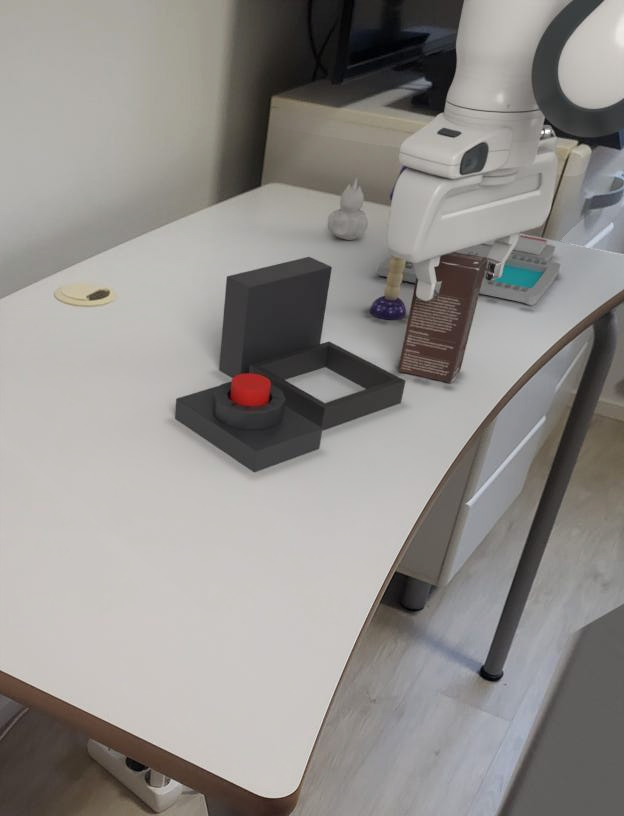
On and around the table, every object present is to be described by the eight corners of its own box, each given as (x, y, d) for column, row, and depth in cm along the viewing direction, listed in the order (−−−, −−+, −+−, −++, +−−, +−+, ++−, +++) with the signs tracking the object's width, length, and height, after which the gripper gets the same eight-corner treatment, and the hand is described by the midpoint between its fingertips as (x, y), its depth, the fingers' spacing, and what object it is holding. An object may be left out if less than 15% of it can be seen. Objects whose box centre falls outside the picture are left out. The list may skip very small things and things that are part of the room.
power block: (319, 449, 91) (325, 410, 88) (254, 473, 87) (258, 433, 84) (238, 399, 98) (241, 361, 95) (174, 419, 94) (176, 380, 92)
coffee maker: (401, 403, 98) (422, 306, 92) (320, 431, 93) (337, 331, 87) (296, 347, 108) (308, 256, 101) (218, 370, 103) (226, 276, 96)
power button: (276, 402, 90) (279, 384, 89) (246, 411, 88) (248, 394, 87) (251, 387, 92) (253, 370, 91) (222, 396, 90) (223, 378, 89)
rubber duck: (371, 237, 137) (382, 176, 132) (353, 250, 133) (363, 188, 128) (336, 229, 139) (345, 169, 134) (317, 241, 135) (325, 180, 130)
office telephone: (434, 211, 139) (577, 237, 132) (430, 230, 141) (571, 257, 134) (380, 255, 124) (539, 288, 116) (376, 276, 125) (532, 310, 118)
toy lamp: (365, 304, 118) (392, 156, 107) (403, 304, 118) (433, 157, 108) (374, 319, 115) (402, 168, 104) (412, 320, 115) (445, 169, 104)
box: (461, 369, 105) (490, 256, 97) (450, 385, 102) (479, 269, 94) (407, 356, 107) (431, 245, 99) (395, 372, 104) (418, 258, 96)
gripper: (532, 115, 96) (500, 258, 104) (387, 146, 87) (365, 300, 95) (588, 127, 92) (549, 275, 101) (441, 161, 83) (413, 320, 91)
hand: (458, 287), depth 98 cm, fingers open, 8 cm apart
